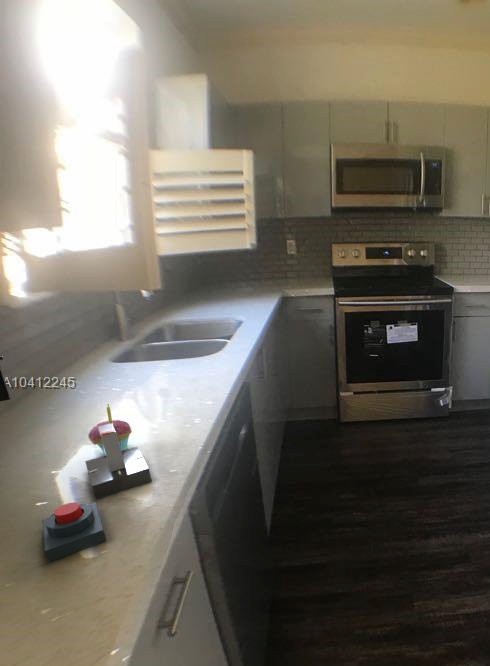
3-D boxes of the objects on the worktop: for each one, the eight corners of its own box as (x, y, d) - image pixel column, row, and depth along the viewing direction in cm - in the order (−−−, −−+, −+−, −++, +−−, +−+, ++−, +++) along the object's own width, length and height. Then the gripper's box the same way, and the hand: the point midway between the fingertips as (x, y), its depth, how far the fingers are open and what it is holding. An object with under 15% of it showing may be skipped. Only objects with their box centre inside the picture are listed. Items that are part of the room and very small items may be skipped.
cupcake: (143, 445, 108) (132, 398, 103) (110, 462, 101) (96, 412, 96) (119, 439, 111) (106, 393, 107) (85, 455, 104) (70, 407, 100)
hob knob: (107, 461, 95) (97, 425, 92) (121, 457, 96) (111, 421, 94) (111, 472, 91) (100, 435, 88) (125, 467, 92) (115, 431, 89)
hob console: (88, 473, 97) (84, 460, 95) (140, 458, 102) (137, 445, 101) (95, 499, 87) (91, 485, 86) (152, 481, 93) (148, 467, 92)
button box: (46, 530, 79) (39, 510, 78) (99, 512, 84) (93, 493, 82) (48, 562, 72) (41, 541, 70) (106, 540, 76) (100, 520, 75)
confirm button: (56, 516, 77) (53, 507, 76) (81, 508, 79) (78, 499, 78) (57, 527, 74) (54, 518, 73) (83, 518, 76) (80, 509, 75)
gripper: (-21, 259, 67) (27, 406, 75) (-14, 253, 77) (27, 384, 85) (-91, 263, 63) (-33, 418, 71) (-74, 256, 73) (-25, 393, 81)
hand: (0, 399), depth 78 cm, fingers closed
